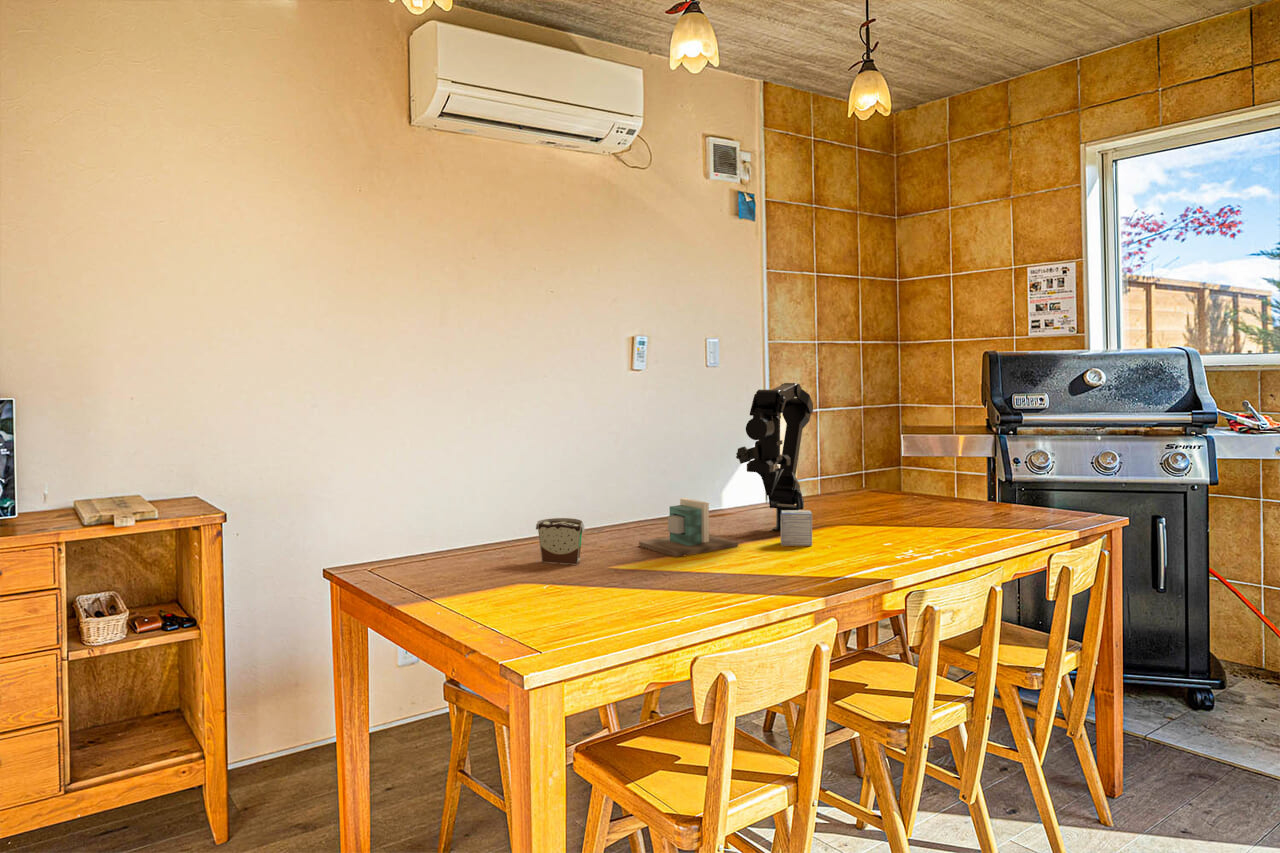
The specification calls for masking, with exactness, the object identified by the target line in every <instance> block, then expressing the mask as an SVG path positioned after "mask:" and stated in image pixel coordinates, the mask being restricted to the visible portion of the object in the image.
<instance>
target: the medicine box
mask: <svg viewBox="0 0 1280 853" xmlns="http://www.w3.org/2000/svg"><path fill="white" fill-rule="evenodd" d="M780 544H781V546H782V547H783V546H785V547H786V546H787V547H789V546H791V547H792V546H794V547H797V546H798V547H799V546H800V547H803V546H805V547H806V546H807V547H811V546H813V513H812V511H811V510H807V509H806V510H805V509H802V510H781V531H780Z"/></svg>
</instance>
